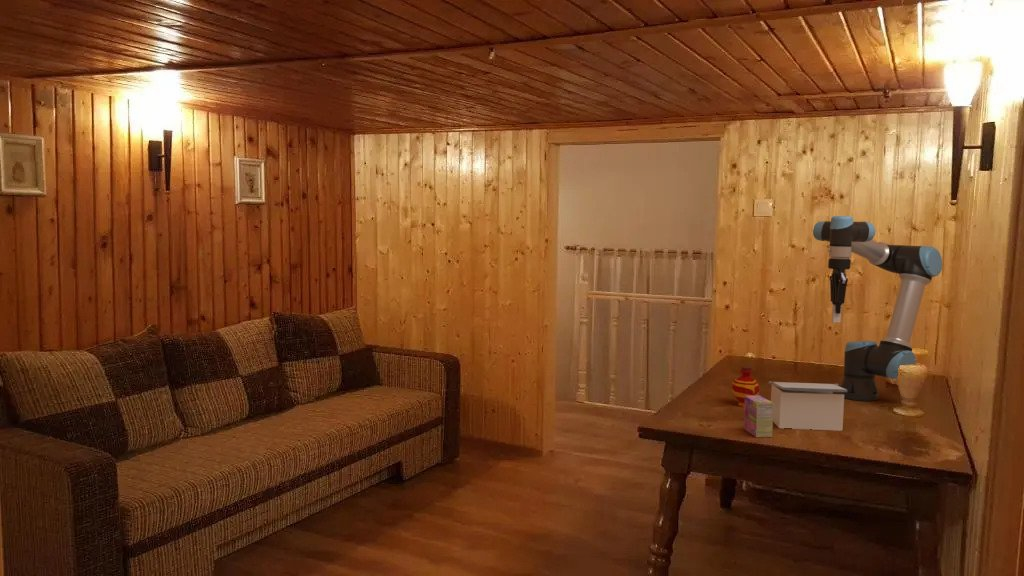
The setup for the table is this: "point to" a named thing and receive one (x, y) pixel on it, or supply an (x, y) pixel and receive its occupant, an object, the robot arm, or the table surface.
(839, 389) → the box lid
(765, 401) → the box
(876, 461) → the table surface
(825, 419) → the white lidded container
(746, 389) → the potion bottle
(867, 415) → the table surface
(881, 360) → the robot arm
